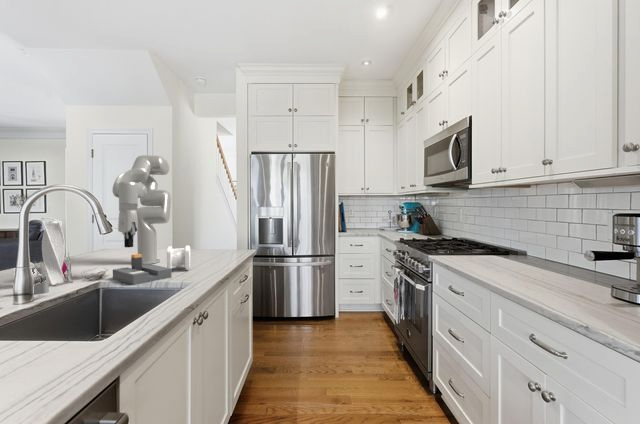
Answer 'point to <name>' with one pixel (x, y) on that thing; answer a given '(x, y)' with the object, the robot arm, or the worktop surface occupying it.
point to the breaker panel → (141, 274)
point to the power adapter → (43, 286)
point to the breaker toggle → (136, 261)
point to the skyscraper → (55, 253)
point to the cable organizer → (178, 257)
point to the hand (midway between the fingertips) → (128, 247)
